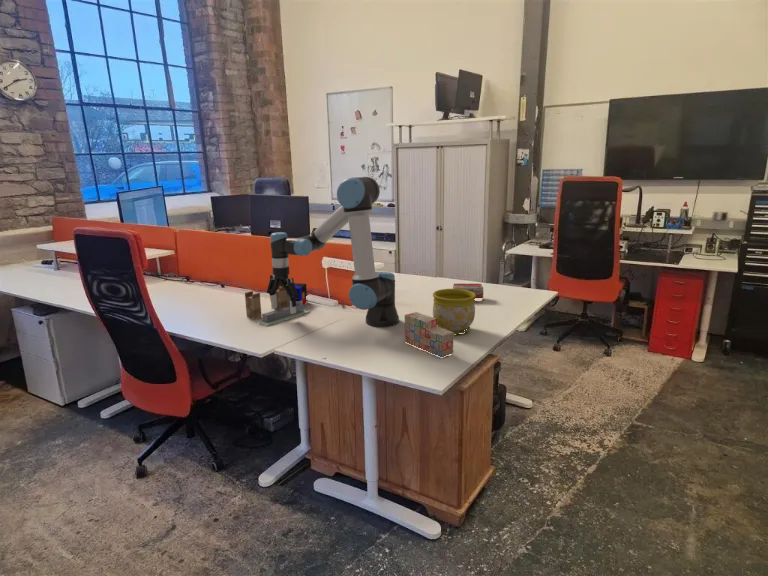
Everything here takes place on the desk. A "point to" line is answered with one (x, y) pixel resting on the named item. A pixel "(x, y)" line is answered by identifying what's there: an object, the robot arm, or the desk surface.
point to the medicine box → (471, 288)
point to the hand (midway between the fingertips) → (283, 310)
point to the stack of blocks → (428, 334)
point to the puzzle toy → (301, 292)
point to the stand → (255, 306)
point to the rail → (281, 313)
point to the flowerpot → (454, 309)
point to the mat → (282, 318)
